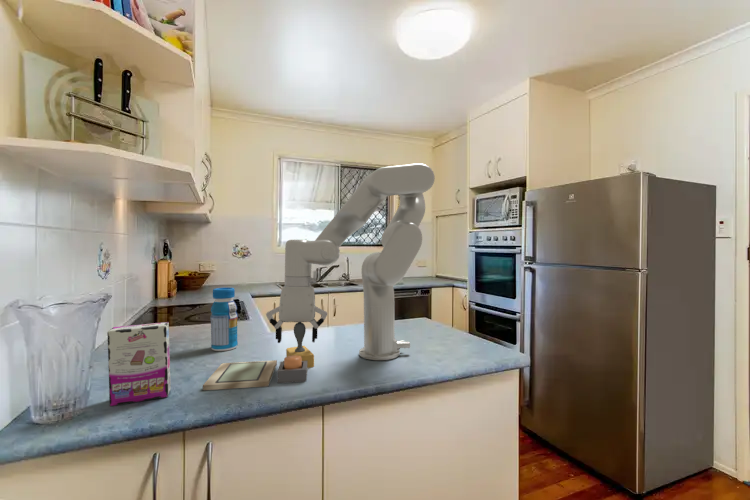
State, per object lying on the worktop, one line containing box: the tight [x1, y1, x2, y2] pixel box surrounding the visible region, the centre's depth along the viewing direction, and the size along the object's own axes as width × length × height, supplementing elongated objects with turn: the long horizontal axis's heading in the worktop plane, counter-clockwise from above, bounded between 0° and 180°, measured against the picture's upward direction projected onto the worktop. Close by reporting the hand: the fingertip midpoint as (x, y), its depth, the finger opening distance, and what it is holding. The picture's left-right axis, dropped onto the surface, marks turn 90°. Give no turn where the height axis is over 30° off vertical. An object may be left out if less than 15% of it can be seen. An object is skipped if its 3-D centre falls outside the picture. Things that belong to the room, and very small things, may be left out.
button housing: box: [276, 361, 309, 384], centre depth 92 cm, size 7×7×3 cm
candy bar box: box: [106, 321, 172, 407], centre depth 80 cm, size 11×5×16 cm, turn 114°
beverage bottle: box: [209, 287, 239, 352], centre depth 119 cm, size 8×8×20 cm
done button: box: [283, 355, 302, 369], centre depth 92 cm, size 4×4×4 cm
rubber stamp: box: [285, 322, 315, 369], centre depth 103 cm, size 10×6×12 cm, turn 26°
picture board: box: [202, 359, 278, 391], centre depth 93 cm, size 15×16×1 cm
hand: (296, 341), depth 103 cm, fingers open, 9 cm apart
